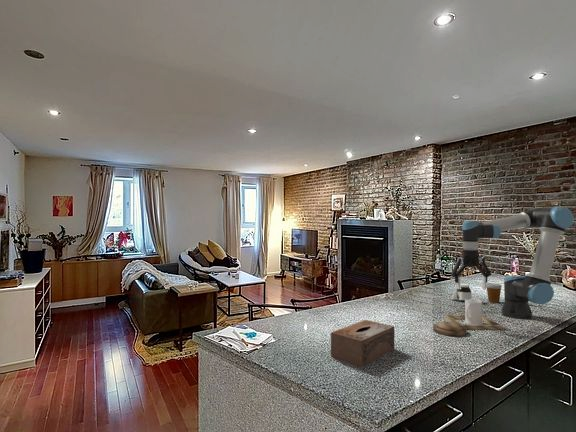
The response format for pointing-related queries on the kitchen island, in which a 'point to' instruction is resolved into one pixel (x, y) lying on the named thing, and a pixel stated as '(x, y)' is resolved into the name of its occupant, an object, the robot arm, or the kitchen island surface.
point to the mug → (473, 312)
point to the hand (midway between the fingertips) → (471, 288)
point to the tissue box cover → (362, 342)
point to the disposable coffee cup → (493, 292)
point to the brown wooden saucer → (449, 329)
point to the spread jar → (462, 293)
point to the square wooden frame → (492, 326)
